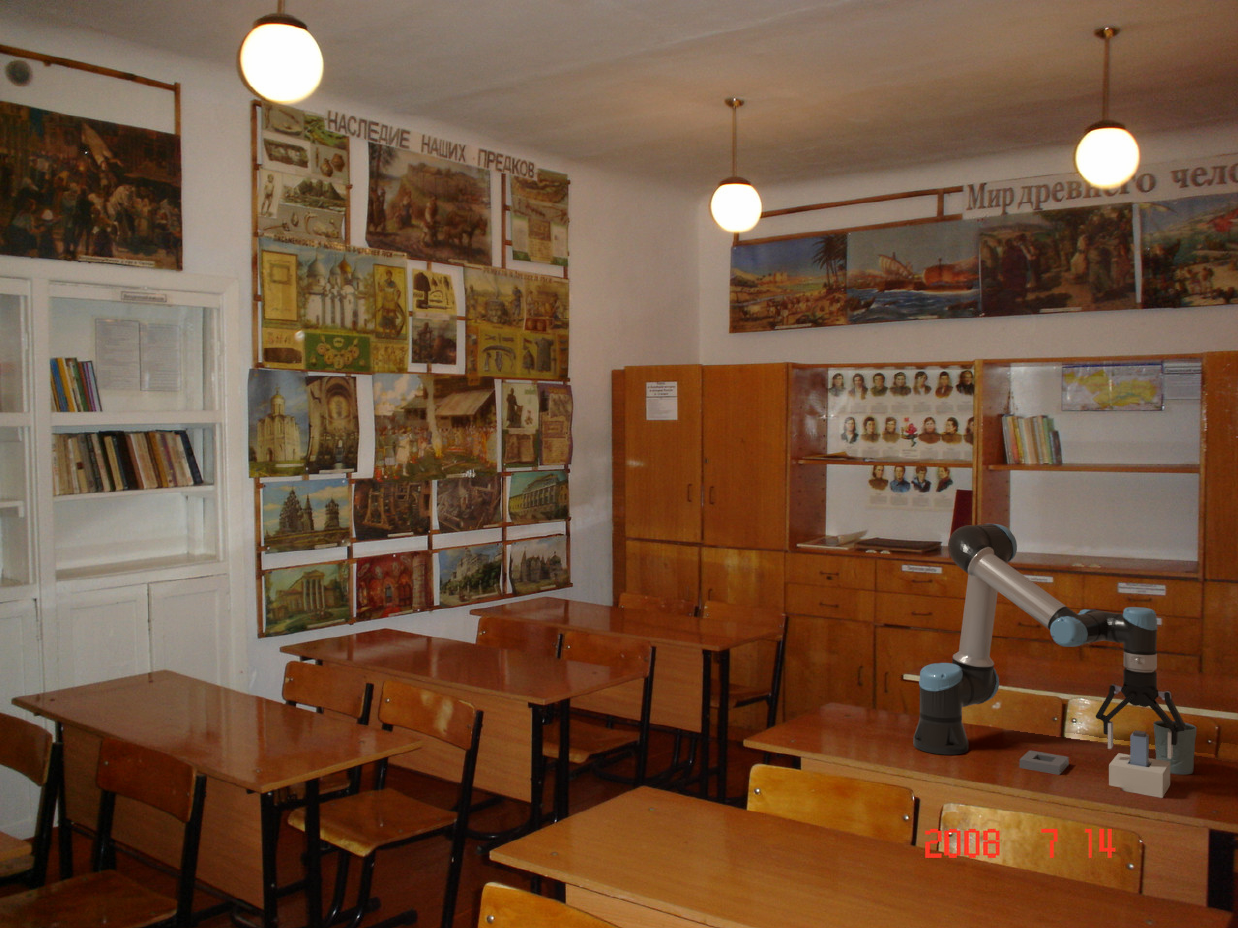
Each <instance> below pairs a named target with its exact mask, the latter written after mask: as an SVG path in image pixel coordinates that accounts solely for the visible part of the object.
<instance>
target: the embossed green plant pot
mask: <svg viewBox="0 0 1238 928" xmlns="http://www.w3.org/2000/svg"><path fill="white" fill-rule="evenodd" d="M1172 721H1173V722H1174V724H1175V725H1176V726H1177V724H1176V722H1175V720H1172ZM1184 723H1185V725H1186V729H1185V730H1184V731H1180V732H1178V742H1177V744H1176V745H1173V756H1172V758H1171V759H1169V758H1168V731H1169V730H1170V729H1169V728H1168V727H1167V725H1166V724H1165V723H1164V722H1163V721H1162V720H1161V719H1160V720H1156V721H1155V720H1154V721H1153V731H1154V747H1155V759H1158V760H1164V761H1170V774H1171V775H1172V774H1173V775H1182V776H1183V775H1191V774H1193V772H1194V763H1195V761H1194V759H1195V758H1194V757H1195V749H1196V748H1195V747H1196V746H1195V745H1196V738H1197V737H1196V736H1197V731H1198V730H1197V729H1198V728H1197V726H1195V725H1193V724H1190V723H1187V722H1184Z"/></svg>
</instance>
